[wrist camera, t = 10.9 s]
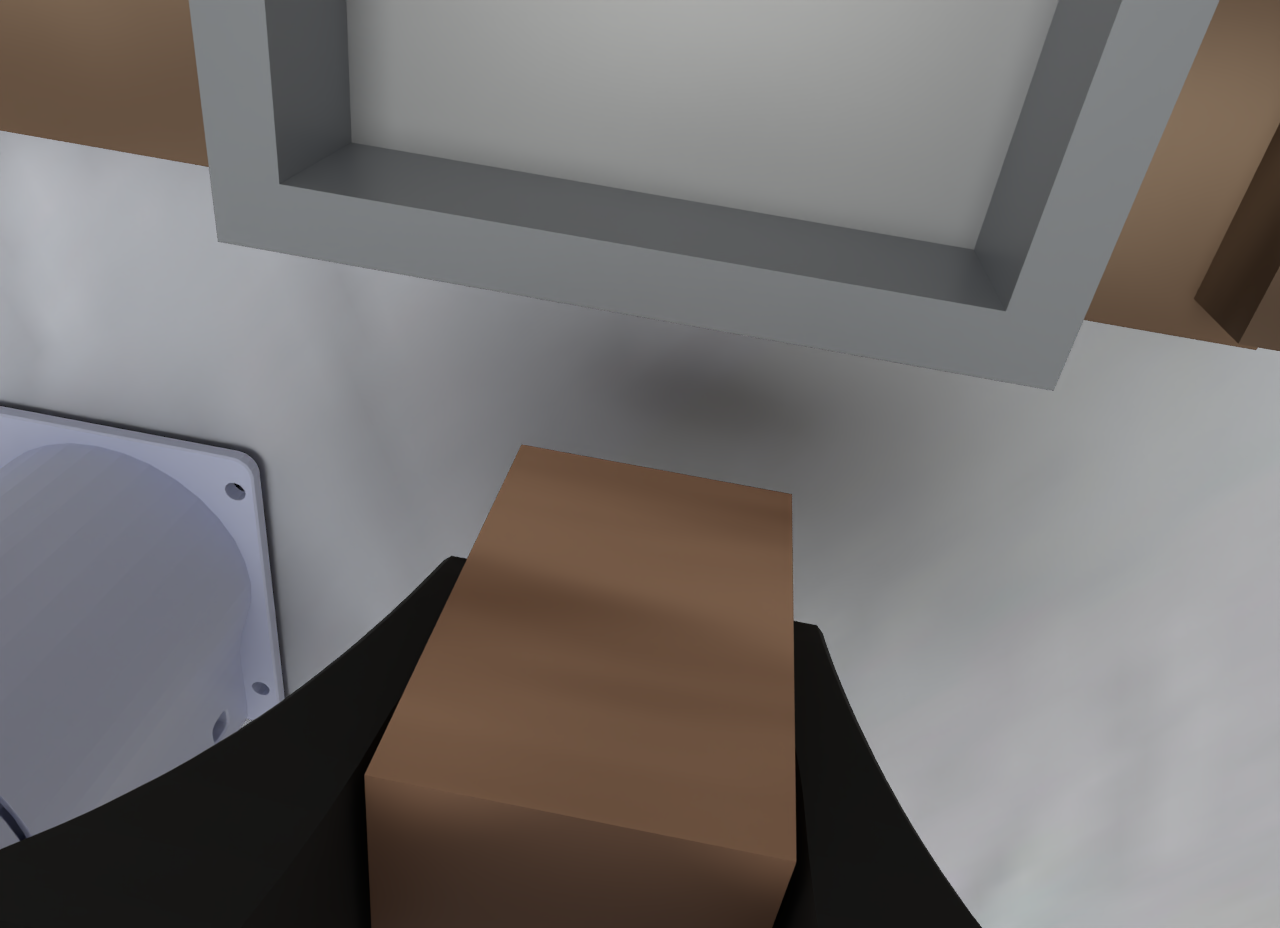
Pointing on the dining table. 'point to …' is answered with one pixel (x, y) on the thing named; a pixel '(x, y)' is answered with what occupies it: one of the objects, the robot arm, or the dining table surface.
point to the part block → (598, 713)
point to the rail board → (1126, 295)
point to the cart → (710, 156)
